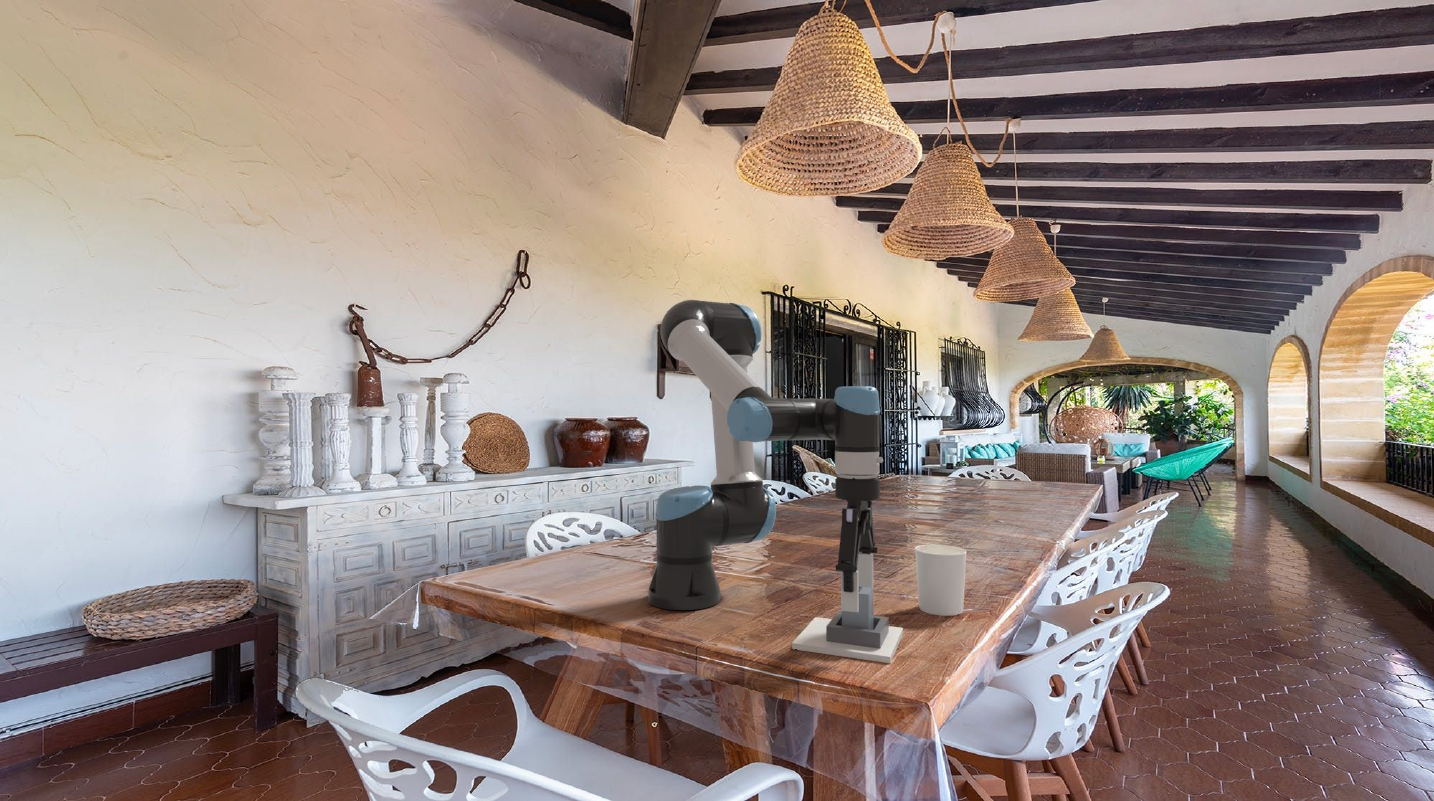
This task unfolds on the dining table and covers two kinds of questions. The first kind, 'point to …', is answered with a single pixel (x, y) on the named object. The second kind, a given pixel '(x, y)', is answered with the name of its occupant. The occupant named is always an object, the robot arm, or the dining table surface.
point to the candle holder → (940, 579)
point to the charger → (861, 611)
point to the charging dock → (850, 639)
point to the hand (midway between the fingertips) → (858, 600)
